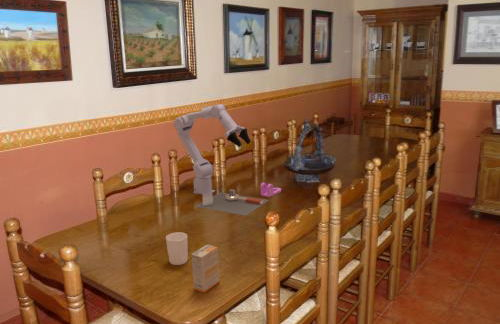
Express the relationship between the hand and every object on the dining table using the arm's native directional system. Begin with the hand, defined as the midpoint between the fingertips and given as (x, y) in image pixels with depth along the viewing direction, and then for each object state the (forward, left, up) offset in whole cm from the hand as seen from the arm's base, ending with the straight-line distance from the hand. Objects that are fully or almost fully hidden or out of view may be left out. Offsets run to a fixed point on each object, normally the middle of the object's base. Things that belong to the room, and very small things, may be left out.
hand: (244, 144), depth 224 cm
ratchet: (-1, -2, -29) cm, 30 cm away
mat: (-5, -7, -30) cm, 31 cm away
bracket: (+6, +16, -30) cm, 35 cm away
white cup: (+10, -69, -30) cm, 76 cm away
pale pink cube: (-15, -14, -29) cm, 36 cm away
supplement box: (+30, -79, -30) cm, 90 cm away
